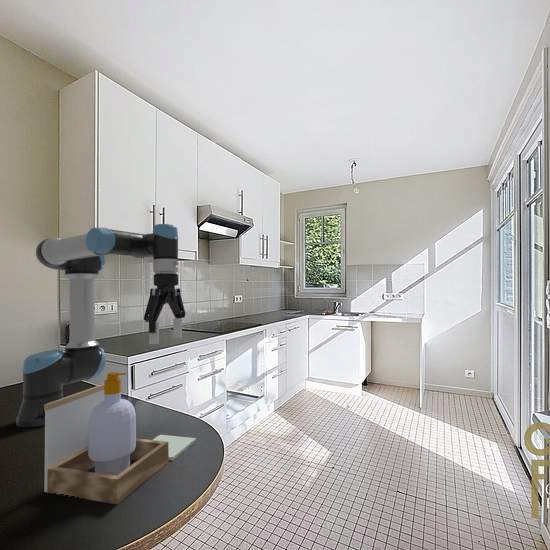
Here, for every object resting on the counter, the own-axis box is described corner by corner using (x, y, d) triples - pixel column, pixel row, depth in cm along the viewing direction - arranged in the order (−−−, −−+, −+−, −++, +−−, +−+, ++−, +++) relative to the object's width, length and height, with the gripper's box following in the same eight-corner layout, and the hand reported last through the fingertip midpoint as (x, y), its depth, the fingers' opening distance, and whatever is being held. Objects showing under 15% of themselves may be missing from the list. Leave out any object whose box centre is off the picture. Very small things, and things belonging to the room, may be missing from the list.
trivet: (133, 455, 93) (133, 452, 93) (160, 437, 104) (160, 434, 104) (173, 460, 89) (173, 457, 89) (196, 441, 101) (195, 438, 101)
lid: (43, 492, 76) (44, 404, 77) (106, 453, 94) (106, 382, 95) (46, 492, 76) (47, 404, 77) (109, 453, 94) (109, 382, 95)
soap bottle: (127, 486, 78) (127, 377, 79) (79, 489, 77) (80, 379, 78) (141, 463, 88) (141, 367, 89) (99, 466, 87) (99, 369, 88)
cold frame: (45, 492, 76) (46, 437, 77) (107, 454, 94) (107, 409, 94) (117, 504, 71) (117, 445, 72) (168, 461, 89) (168, 414, 89)
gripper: (153, 270, 97) (154, 347, 96) (195, 274, 121) (195, 335, 120) (130, 271, 98) (130, 346, 97) (175, 275, 123) (176, 335, 122)
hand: (166, 340), depth 109 cm, fingers open, 13 cm apart
